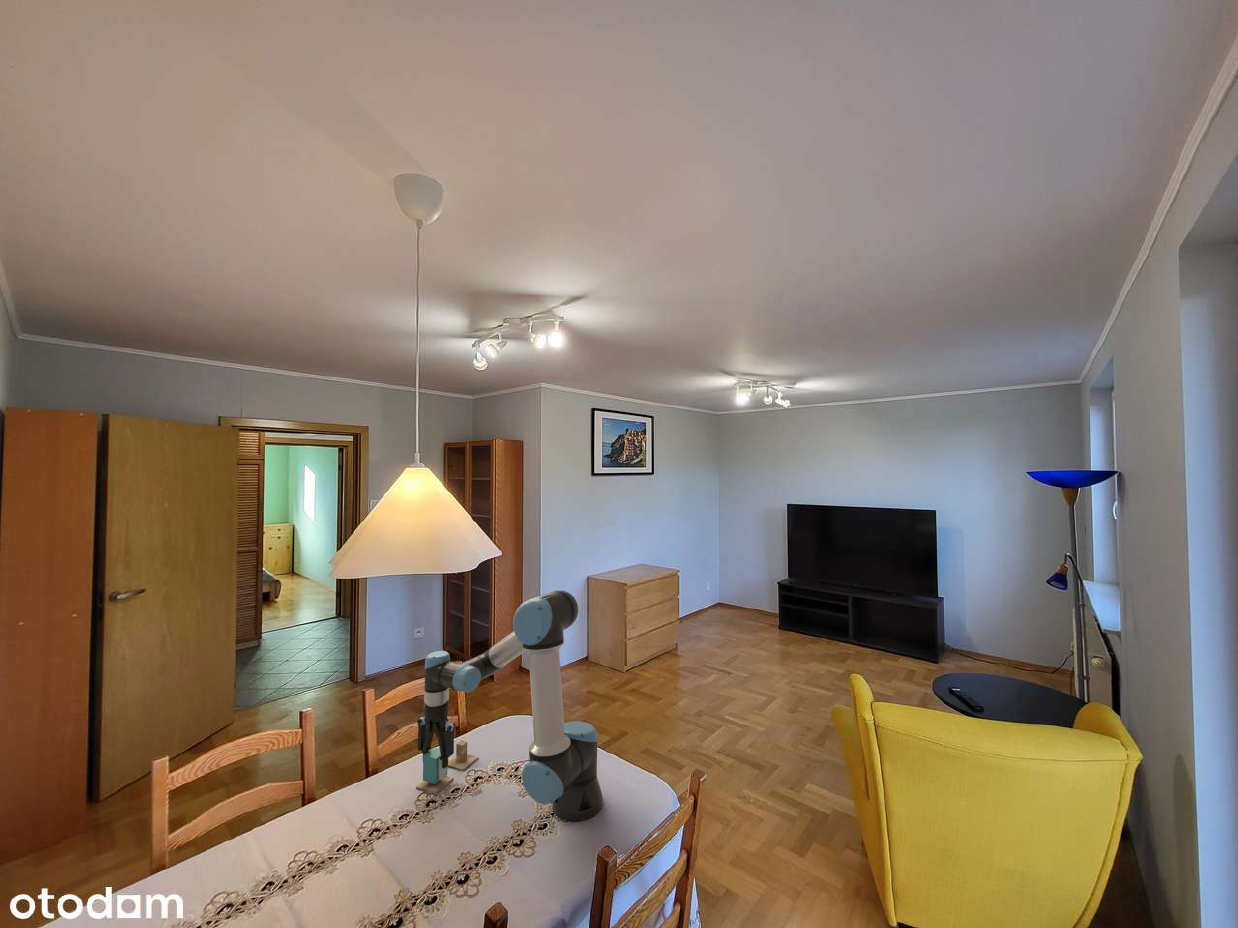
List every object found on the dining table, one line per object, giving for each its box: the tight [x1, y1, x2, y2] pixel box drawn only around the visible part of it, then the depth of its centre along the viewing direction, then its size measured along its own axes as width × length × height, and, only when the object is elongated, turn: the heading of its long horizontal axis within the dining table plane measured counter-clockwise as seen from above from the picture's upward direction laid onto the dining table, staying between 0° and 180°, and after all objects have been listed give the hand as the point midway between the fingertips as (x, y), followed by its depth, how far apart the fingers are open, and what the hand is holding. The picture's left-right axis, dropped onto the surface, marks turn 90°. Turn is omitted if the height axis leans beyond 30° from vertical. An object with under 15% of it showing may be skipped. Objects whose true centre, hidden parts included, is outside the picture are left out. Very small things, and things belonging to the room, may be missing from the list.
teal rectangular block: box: [422, 746, 448, 784], centre depth 154 cm, size 5×5×8 cm
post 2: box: [447, 739, 479, 772], centre depth 166 cm, size 8×8×7 cm
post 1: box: [415, 775, 454, 795], centre depth 154 cm, size 8×8×7 cm
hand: (435, 775), depth 154 cm, fingers closed on teal rectangular block, 5 cm apart
